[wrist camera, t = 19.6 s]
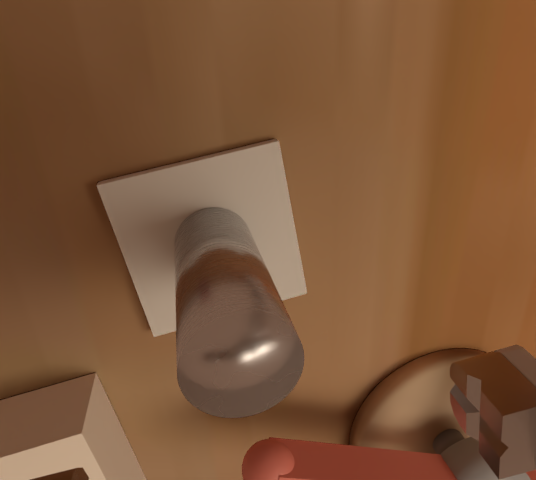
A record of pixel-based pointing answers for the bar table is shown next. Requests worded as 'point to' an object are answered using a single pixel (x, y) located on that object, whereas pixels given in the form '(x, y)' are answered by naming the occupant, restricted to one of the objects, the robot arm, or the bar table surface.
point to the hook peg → (230, 320)
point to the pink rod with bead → (365, 462)
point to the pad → (196, 198)
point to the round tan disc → (412, 407)
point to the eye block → (64, 434)
